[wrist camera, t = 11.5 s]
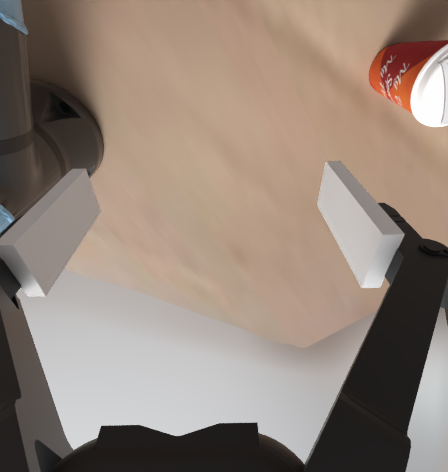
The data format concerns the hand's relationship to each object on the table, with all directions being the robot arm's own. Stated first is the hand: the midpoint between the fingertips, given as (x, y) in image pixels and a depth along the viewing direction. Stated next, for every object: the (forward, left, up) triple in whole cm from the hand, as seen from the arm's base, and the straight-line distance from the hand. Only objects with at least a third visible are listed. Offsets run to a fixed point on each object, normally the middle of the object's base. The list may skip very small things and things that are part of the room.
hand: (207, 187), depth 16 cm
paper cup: (+23, +3, -28) cm, 36 cm away
